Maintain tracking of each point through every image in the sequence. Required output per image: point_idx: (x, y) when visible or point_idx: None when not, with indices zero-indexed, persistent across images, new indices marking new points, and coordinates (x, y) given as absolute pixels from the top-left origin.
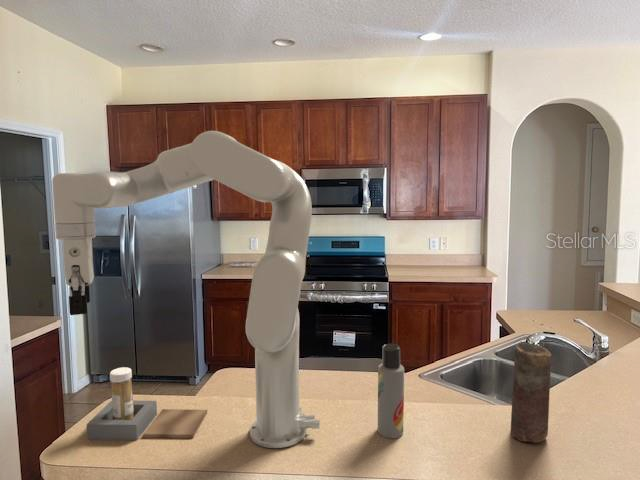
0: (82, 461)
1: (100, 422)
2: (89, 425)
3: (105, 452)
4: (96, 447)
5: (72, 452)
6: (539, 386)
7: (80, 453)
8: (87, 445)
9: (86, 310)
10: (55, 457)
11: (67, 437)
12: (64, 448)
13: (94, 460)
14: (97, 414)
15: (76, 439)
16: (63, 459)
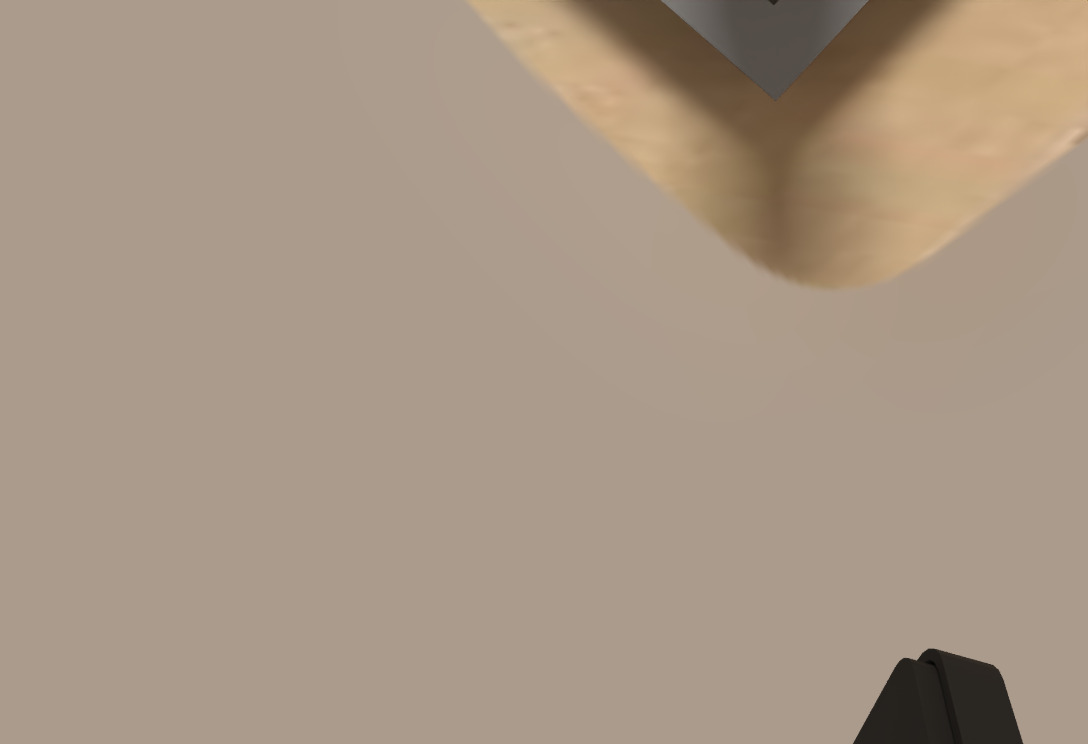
0: (1011, 148)
1: (818, 13)
2: (789, 82)
3: (1023, 13)
4: (914, 48)
5: (862, 175)
6: None
7: (910, 141)
8: (846, 90)
9: (1014, 718)
10: (846, 256)
11: (662, 168)
12: (782, 203)
13: (1060, 89)
14: (675, 6)
15: (723, 130)
16: (902, 227)
